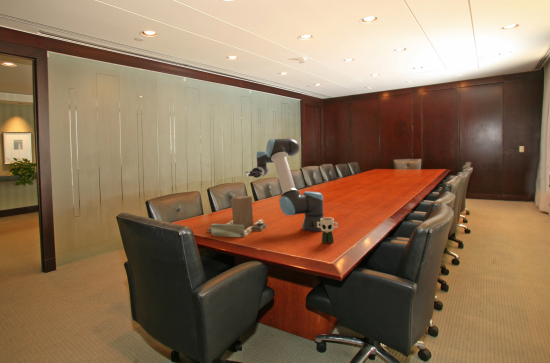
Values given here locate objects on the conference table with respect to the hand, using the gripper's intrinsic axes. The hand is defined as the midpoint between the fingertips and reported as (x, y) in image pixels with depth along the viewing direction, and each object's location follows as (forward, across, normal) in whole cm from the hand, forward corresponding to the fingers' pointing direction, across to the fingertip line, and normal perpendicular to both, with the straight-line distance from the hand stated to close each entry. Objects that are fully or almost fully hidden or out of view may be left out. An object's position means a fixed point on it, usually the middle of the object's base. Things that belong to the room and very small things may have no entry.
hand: (245, 175), depth 211 cm
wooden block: (+10, 0, -34) cm, 35 cm away
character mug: (+35, -60, -33) cm, 77 cm away
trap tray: (+17, 0, -33) cm, 37 cm away
